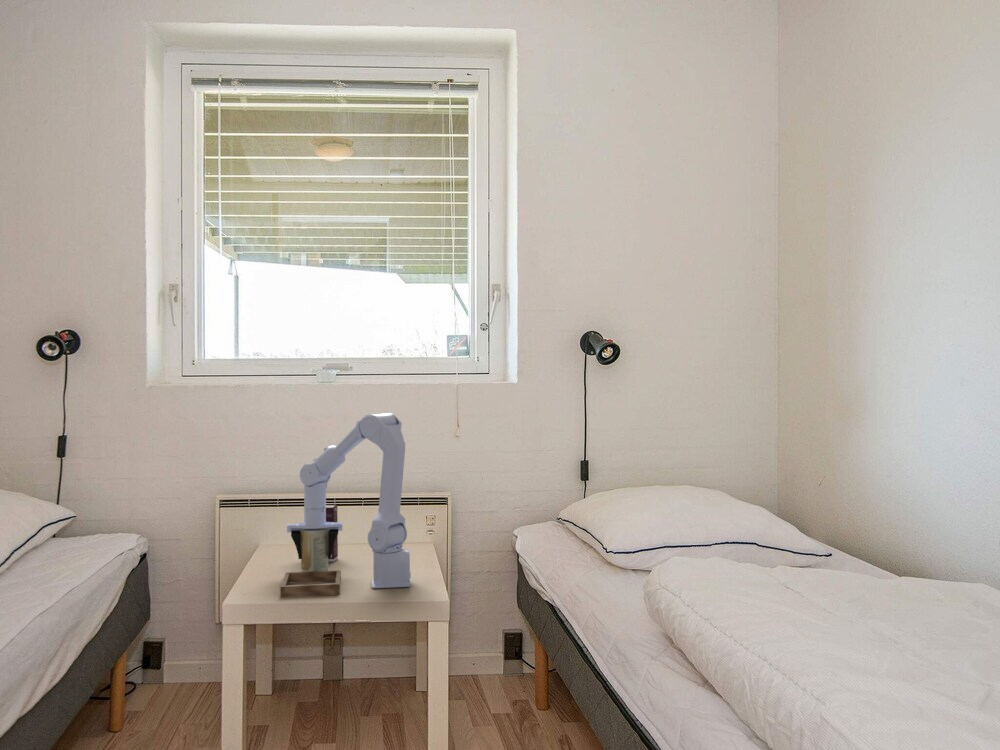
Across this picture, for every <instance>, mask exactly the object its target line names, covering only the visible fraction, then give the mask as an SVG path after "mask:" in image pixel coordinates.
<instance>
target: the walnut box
mask: <svg viewBox="0 0 1000 750" xmlns="http://www.w3.org/2000/svg"><path fill="white" fill-rule="evenodd" d="M341 577H342V570H341V569H336V570H335V569H333V570H328V571H309V572H301V571H290V572H289V571H288V572H287V571H286V572H285V574H284V577H283V579H282V582H281V585H280V598H288V597H289V598H291V597H310V596H312V597H313V596H331V595H334V596H335V595H340V594H341V593H340V591H341V580H342V578H341ZM317 581H321V582H331V583H317ZM290 582H299V583H311V584H291V583H290ZM333 582H334V583H333ZM312 583H313V584H312ZM314 583H315V584H314ZM290 584H291V585H290Z"/></svg>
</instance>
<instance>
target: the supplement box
mask: <svg viewBox="0 0 1000 750" xmlns="http://www.w3.org/2000/svg"><path fill="white" fill-rule="evenodd" d="M326 522H338V505H337V504H329V505H328V504H326ZM338 536H339V534H338V535H337V537H336V540H335V542H334V545H333V548H332V552H331V558H328V563H329V562H330V563H334V562H336V560H338V558H339V555H338V554H339V553H338V552H339V549H338V548H339V544H338V543H339V541H338ZM328 551H329V531H328Z"/></svg>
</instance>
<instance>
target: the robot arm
mask: <svg viewBox="0 0 1000 750" xmlns="http://www.w3.org/2000/svg"><path fill="white" fill-rule="evenodd" d="M402 424H403V423H402V421H401V420H400V419H399V418H398V417H397V416H396V415H395V414H394V413H391V412H386V413H376V414H375V413H374V414H373V413H370V414H369V413H368V414H366V415H364V416H363V417H362V418H361V419H359V420H358V421H357V422H356V424H355V426H354V427H353V428H352V429H351V430H350V431H349V432H348V433H347V434H346V435H345V437H344V438H342V440H341V441H339V442H338V444H336V445H329V446H325V447H324V448H323V452H322V453H320V455H318V456H317V457H315V458H313V460H312V463H306V464H303V466H302V467H301V468H300V470H299V478H300V482H301V483H302V484H303V485H304V487H303V488H304V491H303V493H304V494H303V497H304V499H303V500H304V502H303V506H304V509H303V514H304V515H303V516H304V517H303V519H304V521H303V522H301V523H288V524H287V525H286V527H287V528H286V532H287V533H290V537H291V539H292V540H293V543H294V546H295V548H296V552H297V555H298V556H297V557H298V560H301V531H302V530H305V529H320V528H322V529H328V530H327V531H329V551H328V558H331V552H332V548H333V545H334V542H335V540H336V537H337V535H338V536H339V532H342V531H343V522H341V521H340V522H338V521H337V522H326V505H327V488H328V482H329V481H330V479H331V476H332V474H333V473H334V472H335V471H336V470H337V469H338V468H339V467H340V466H342V464H344V462H346V455H347V454H348V453H350V452H351V451H352V450H353V449H354V448H356V447H357V446H359V445H360V444H361V443H362V442H363V441H365V440H366V439H367V440H369V441H370V442H371V443H372V444H375V445H376V446H378V448H379V449H380V450H381V451H382V452H383V453H382V465H381V476H380V490H379V498H378V500H379V503H378V510H377V514H376V515H375V517H374V518H373V520H372V521H371V527H370V530H369V531H368V534H367V543H368V545H369V547H370V548H371V551H372V552H373V564H372V565H373V573H372V574H373V577H372V579H371V588H372V589H390V588H391V589H392V588H409V587H411V570H410V567H411V565H410V563H411V561H410V560H411V557H410V556H411V555H410V549H408V548H407V549H406V548H403V547H404V546H403V544H404V543H405V542H406V541H407V537H408V530H407V528H406V518H405V517H404V515H402V514H401V503H402V502H401V500H402V490H403V482H404V481H403V479H404V470H405V469H404V468H405V455H406V442H405V439H404V435H403V433H402Z"/></svg>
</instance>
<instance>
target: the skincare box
mask: <svg viewBox="0 0 1000 750" xmlns="http://www.w3.org/2000/svg"><path fill="white" fill-rule="evenodd" d="M327 530H328V529H322V528H320V529H305V530H302V531H301V559H300V561H301V564H300V565H301V567H300V568H301V569H300V570H301V571H300V572H309V571H329V562H328V531H327Z"/></svg>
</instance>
